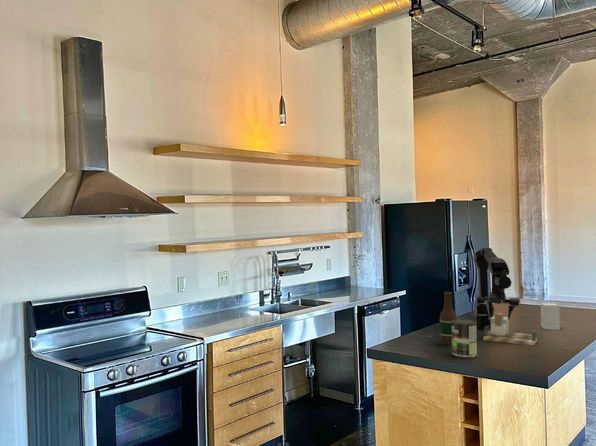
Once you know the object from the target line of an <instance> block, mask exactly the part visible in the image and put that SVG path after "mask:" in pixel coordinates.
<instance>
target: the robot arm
mask: <svg viewBox="0 0 596 446" xmlns="http://www.w3.org/2000/svg"><path fill="white" fill-rule="evenodd" d="M472 259H473V262H474V266H475V267H476V269H477V277H478V296H477V297H476V301H475V306H474V310H473V316H474V317H475V318H476V322H477V324H476V330H477V329H478V330H484V327H486V326H489V330H491V318H492V317H493V316H494V311H495V308H494V306H493V304H497V305H500V304H501V303H502V304H509V305H508V315H507V317H508V321H509V320H510V319H511V316H512V313H513V311H514V309H515V308H516V307H517V306H518V307H519V306H520V305H521V299H520V298H519V297H510V298H509V299H508V298H507V295H506V293H505V290H506V289H509V288H510V287H511V286H512V280H511V278H510V277H509V276H508V275H510V269H509V266H508V263H507V262H506V261H505V259H503V258H501V257H498V256H497V255H496V254H495V252H494V251H493V249H492V248H491V247H482V248H480V249H479V250H476V251H475V252H474V254H473V256H472ZM488 270H489V273H490V276H491V277H490V278H491V291H490V294H489V279H488V278H489V277H488Z"/></svg>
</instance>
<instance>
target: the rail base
mask: <svg viewBox="0 0 596 446" xmlns="http://www.w3.org/2000/svg"><path fill="white" fill-rule="evenodd" d="M482 340H483V341H488V342H499V343H506V342H507V343H508V344H509V343H510V344H517V345H526V346H535V345H536V343H537V342H538V337H537V330H536V329H533V330H532V332H531V334H528V333H520V332H518V333H517V332H505V336H504V335H494V334H491V330H490V329H489V326H486V327H484V329H483V339H482Z"/></svg>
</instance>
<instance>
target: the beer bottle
mask: <svg viewBox="0 0 596 446" xmlns="http://www.w3.org/2000/svg"><path fill="white" fill-rule="evenodd" d="M443 295H444V297H443V298H444V299H443V300H444V301H443V309H442V311H441V312H440V314H439V340H440V341H439V342H440V344H441V345H443V346H447V347H448V346H449V347H450V346H451V347H452V323H451V321H452V320H454V319H458V316H457V314H456V312H455V310H454V308H453V297H452V296H453V293H452V291H444V292H443Z"/></svg>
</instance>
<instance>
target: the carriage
mask: <svg viewBox="0 0 596 446" xmlns="http://www.w3.org/2000/svg"><path fill="white" fill-rule="evenodd" d="M502 314H503V313H502ZM502 314H496V313H495V314H494V316H495V323H493V324H492V325H491V328H490V331H491V334H494V335H504V336H505V332H506V331H507V325H506V324H503V317H504V315H502Z"/></svg>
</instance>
